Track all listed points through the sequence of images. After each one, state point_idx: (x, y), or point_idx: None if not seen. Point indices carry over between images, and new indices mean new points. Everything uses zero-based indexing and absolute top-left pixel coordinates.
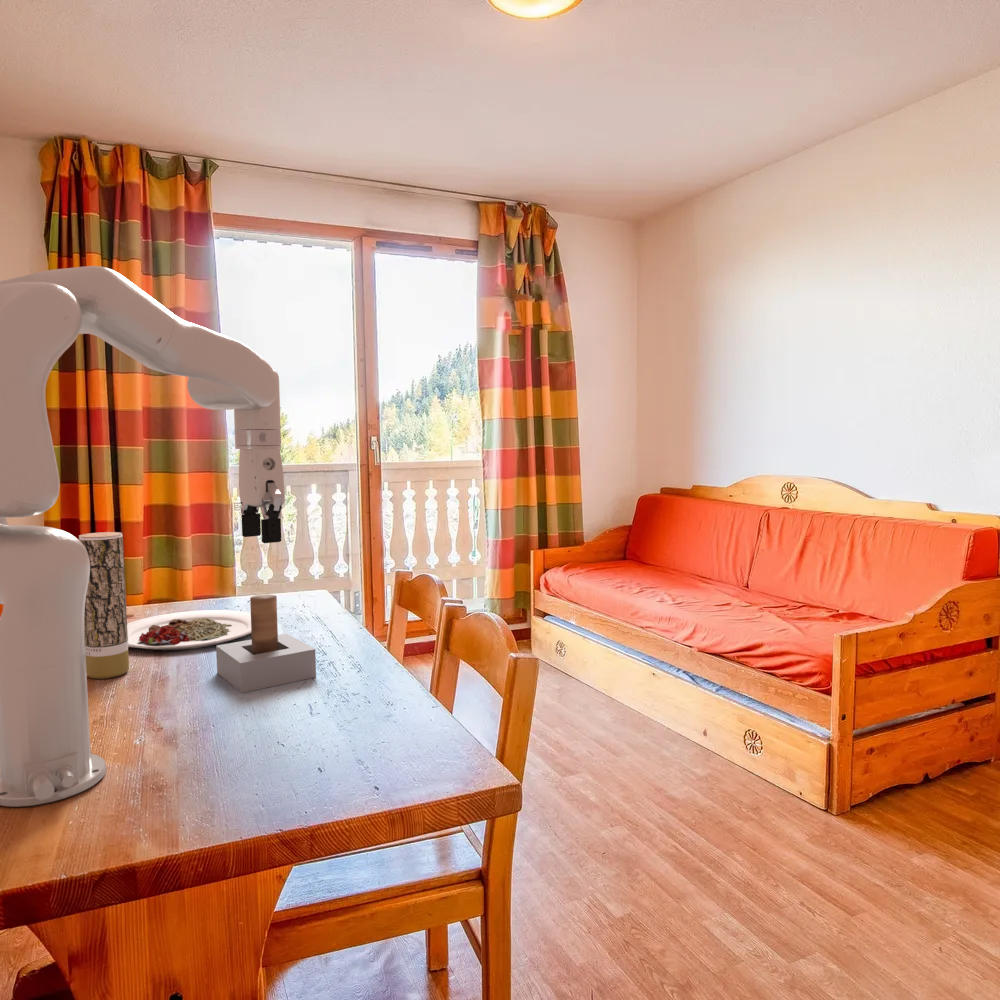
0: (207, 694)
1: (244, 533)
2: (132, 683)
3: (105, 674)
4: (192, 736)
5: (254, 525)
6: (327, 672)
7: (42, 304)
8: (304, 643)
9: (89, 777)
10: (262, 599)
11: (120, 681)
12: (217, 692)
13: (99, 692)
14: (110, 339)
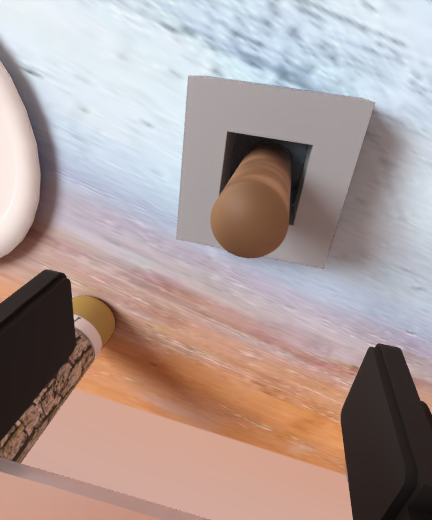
0: (281, 278)
1: (67, 357)
2: (154, 314)
3: (113, 331)
4: (418, 362)
5: (34, 340)
6: (357, 56)
7: None
8: (307, 94)
9: None
10: (275, 241)
11: (135, 319)
12: (284, 265)
13: (164, 350)
14: None
